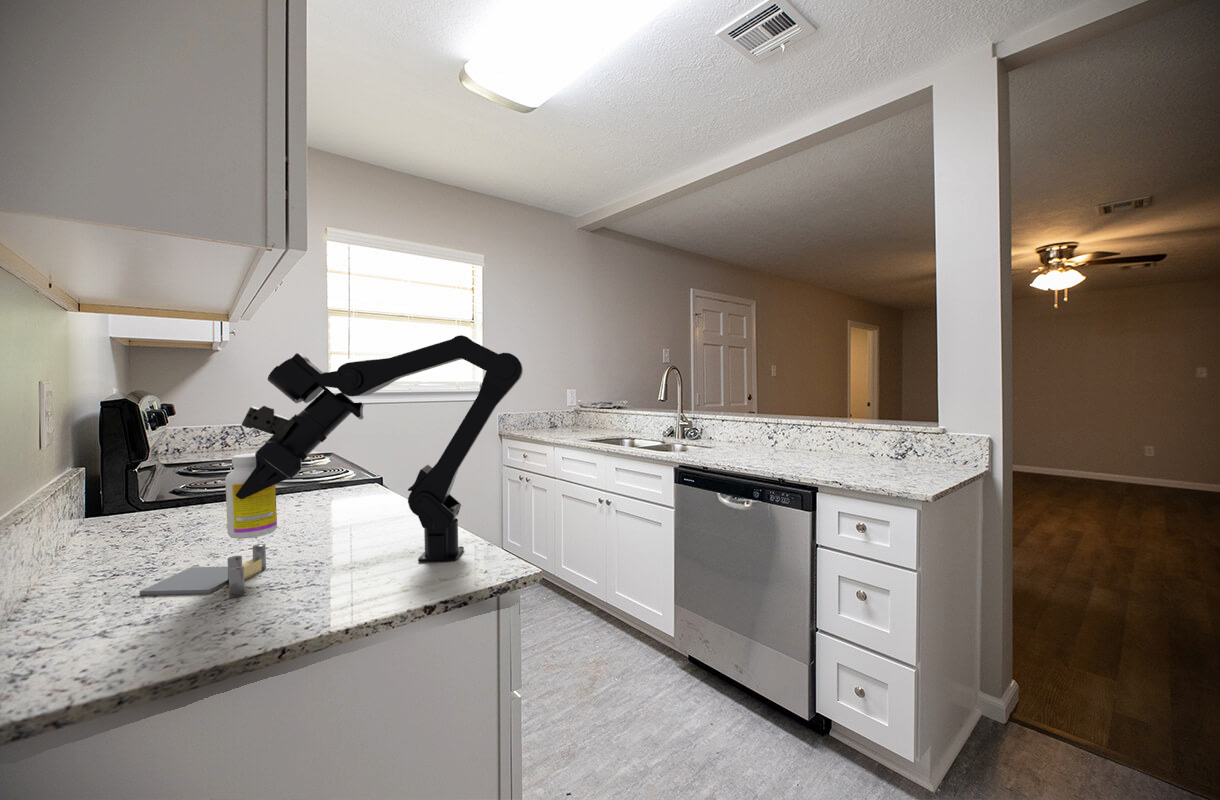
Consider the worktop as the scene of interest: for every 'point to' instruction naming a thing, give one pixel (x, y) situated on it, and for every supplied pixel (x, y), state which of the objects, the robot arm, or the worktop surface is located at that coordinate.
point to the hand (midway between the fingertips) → (241, 493)
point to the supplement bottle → (248, 502)
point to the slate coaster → (191, 582)
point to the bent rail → (245, 570)
